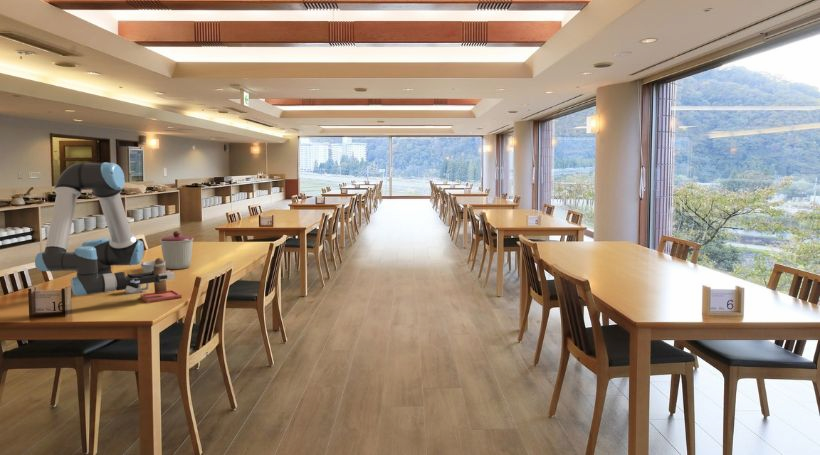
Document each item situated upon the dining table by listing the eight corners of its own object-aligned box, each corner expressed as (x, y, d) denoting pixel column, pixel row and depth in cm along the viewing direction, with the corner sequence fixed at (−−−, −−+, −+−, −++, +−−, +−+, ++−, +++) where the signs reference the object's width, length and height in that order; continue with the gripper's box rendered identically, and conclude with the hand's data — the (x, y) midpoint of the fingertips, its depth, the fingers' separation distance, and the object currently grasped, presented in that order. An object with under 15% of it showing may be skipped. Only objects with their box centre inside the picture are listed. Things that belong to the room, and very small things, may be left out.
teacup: (170, 276, 290) (169, 261, 289) (151, 280, 281) (150, 264, 280) (154, 273, 297) (153, 259, 296) (135, 277, 288) (134, 262, 287)
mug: (123, 294, 252) (122, 279, 251) (128, 290, 258) (127, 276, 257) (147, 293, 254) (146, 278, 253) (150, 289, 260) (150, 276, 259)
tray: (140, 297, 245) (140, 294, 244) (173, 293, 254) (173, 289, 253) (147, 303, 236) (147, 299, 235) (181, 297, 244) (181, 294, 244)
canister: (201, 265, 321) (199, 229, 318) (183, 271, 303) (181, 233, 300) (173, 264, 324) (171, 228, 321) (153, 270, 306) (151, 232, 304)
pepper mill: (153, 292, 245) (151, 257, 243) (164, 291, 248) (162, 256, 246) (156, 294, 241) (154, 259, 239) (168, 293, 244) (166, 258, 242)
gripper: (110, 286, 239) (166, 279, 254) (120, 294, 226) (179, 286, 240) (109, 269, 238) (165, 263, 253) (119, 276, 225) (178, 269, 239)
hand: (172, 274), depth 247 cm, fingers closed on pepper mill, 5 cm apart
